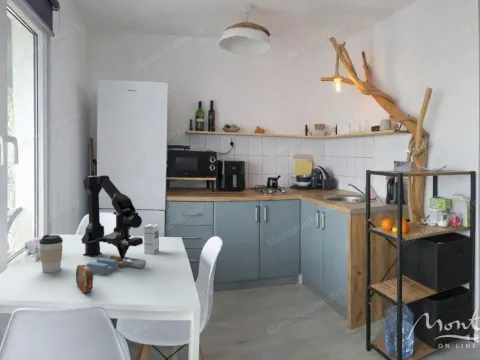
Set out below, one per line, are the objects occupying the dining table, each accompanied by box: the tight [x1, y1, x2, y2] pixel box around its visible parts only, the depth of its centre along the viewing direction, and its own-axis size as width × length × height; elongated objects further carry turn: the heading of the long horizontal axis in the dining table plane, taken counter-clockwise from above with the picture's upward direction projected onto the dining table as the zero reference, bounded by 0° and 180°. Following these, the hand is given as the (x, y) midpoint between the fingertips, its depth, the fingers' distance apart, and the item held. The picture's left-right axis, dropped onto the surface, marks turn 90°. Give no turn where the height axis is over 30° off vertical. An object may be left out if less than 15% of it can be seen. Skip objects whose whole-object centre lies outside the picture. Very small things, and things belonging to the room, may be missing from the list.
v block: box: [86, 257, 119, 276], centre depth 149 cm, size 9×9×4 cm
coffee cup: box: [38, 234, 64, 273], centre depth 148 cm, size 9×9×15 cm
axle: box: [121, 256, 147, 269], centre depth 156 cm, size 10×4×4 cm, turn 70°
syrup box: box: [143, 223, 160, 255], centre depth 179 cm, size 6×6×14 cm
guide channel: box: [109, 254, 125, 269], centre depth 160 cm, size 13×9×2 cm
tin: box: [75, 264, 94, 294], centre depth 129 cm, size 15×3×8 cm, turn 38°
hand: (122, 258), depth 158 cm, fingers closed
